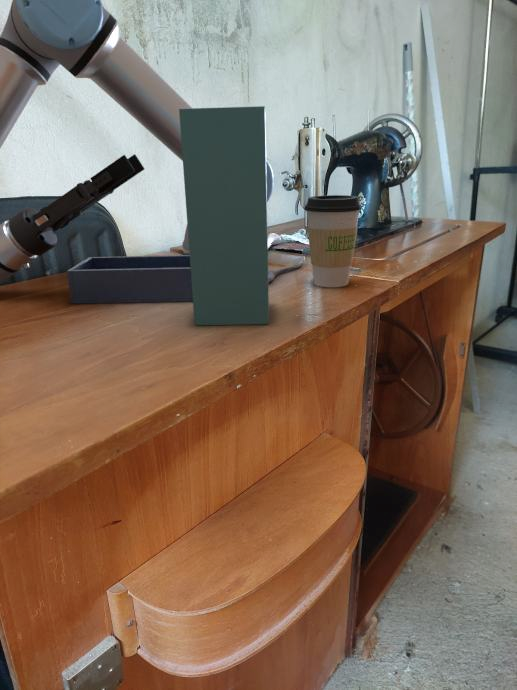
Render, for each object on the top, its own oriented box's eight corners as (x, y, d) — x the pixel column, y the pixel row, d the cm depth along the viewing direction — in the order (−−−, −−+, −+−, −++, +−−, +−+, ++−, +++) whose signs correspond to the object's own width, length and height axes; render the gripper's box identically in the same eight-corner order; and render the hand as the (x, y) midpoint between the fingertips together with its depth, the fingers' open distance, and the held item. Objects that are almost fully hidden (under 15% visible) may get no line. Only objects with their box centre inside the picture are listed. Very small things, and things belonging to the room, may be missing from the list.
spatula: (270, 264, 108) (270, 251, 107) (251, 264, 108) (250, 251, 107) (281, 243, 134) (281, 232, 133) (266, 243, 134) (266, 232, 133)
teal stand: (268, 305, 81) (265, 110, 71) (268, 324, 73) (264, 106, 63) (202, 307, 81) (189, 113, 71) (194, 325, 73) (178, 108, 63)
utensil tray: (214, 284, 95) (213, 254, 93) (208, 301, 85) (206, 268, 83) (93, 286, 96) (88, 257, 94) (71, 303, 85) (66, 271, 83)
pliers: (301, 257, 111) (301, 280, 92) (301, 261, 111) (301, 285, 92) (256, 258, 111) (247, 280, 93) (256, 262, 112) (247, 285, 93)
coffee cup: (357, 290, 88) (361, 200, 83) (300, 289, 90) (300, 200, 85) (359, 277, 97) (362, 194, 92) (307, 276, 99) (307, 195, 94)
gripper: (59, 247, 97) (159, 179, 92) (13, 269, 79) (134, 187, 75) (33, 212, 95) (135, 141, 90) (-20, 227, 77) (102, 140, 73)
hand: (134, 162), depth 82 cm, fingers open, 6 cm apart
